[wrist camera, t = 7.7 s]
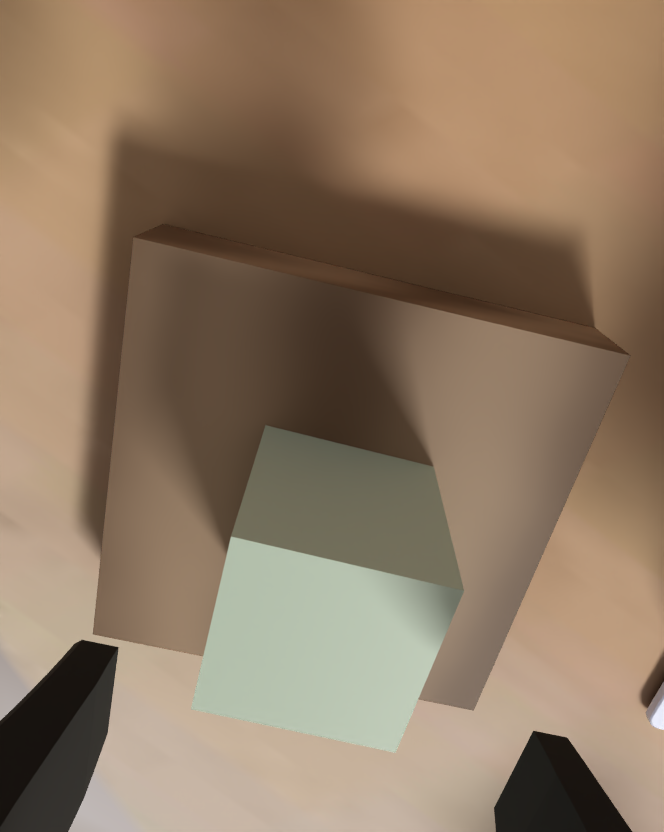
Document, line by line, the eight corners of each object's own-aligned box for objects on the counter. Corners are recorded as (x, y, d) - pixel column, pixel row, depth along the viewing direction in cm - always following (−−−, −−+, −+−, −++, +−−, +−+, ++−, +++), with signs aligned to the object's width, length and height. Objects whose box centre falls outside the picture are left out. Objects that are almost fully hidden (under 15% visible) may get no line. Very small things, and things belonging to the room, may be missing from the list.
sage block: (433, 466, 17) (463, 590, 12) (385, 600, 18) (395, 752, 14) (265, 424, 16) (231, 536, 12) (232, 564, 18) (191, 709, 13)
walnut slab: (588, 322, 18) (630, 355, 15) (459, 641, 23) (473, 710, 20) (168, 221, 17) (133, 237, 15) (125, 572, 22) (92, 634, 19)
